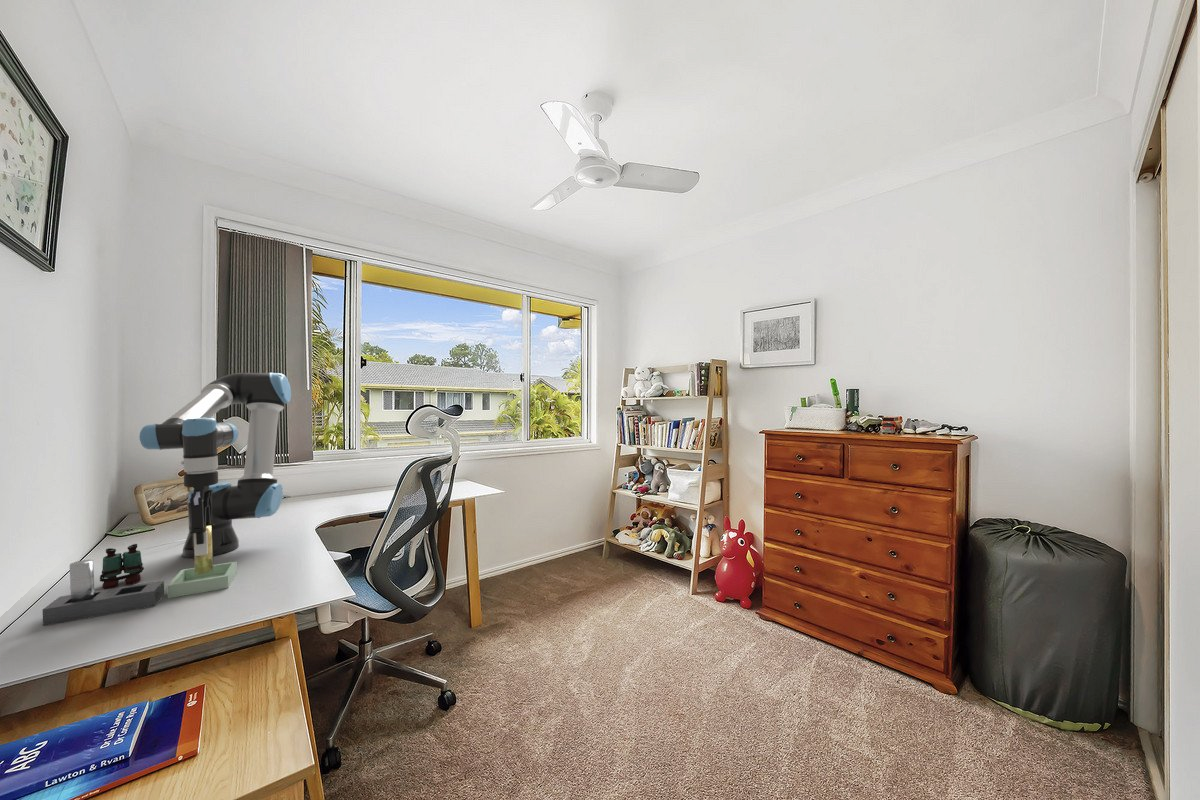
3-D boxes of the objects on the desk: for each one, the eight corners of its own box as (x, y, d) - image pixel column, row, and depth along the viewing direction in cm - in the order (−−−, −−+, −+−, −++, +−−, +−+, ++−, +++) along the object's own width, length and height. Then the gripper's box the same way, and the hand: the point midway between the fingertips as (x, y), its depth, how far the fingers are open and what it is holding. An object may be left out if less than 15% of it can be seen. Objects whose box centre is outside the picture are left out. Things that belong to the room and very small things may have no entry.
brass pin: (196, 570, 136) (195, 526, 136) (214, 568, 138) (213, 524, 138) (193, 575, 132) (191, 529, 132) (211, 572, 134) (209, 527, 134)
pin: (76, 612, 119) (74, 561, 119) (98, 608, 121) (96, 558, 121) (68, 618, 116) (66, 566, 115) (90, 614, 118) (89, 563, 117)
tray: (181, 581, 138) (181, 569, 138) (236, 572, 144) (236, 561, 144) (167, 598, 127) (167, 585, 127) (228, 587, 133) (228, 575, 133)
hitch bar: (60, 612, 119) (59, 596, 119) (164, 594, 129) (164, 580, 129) (43, 625, 112) (42, 609, 112) (154, 606, 122) (154, 590, 122)
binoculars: (98, 559, 129) (100, 547, 136) (99, 596, 130) (101, 582, 137) (143, 551, 135) (143, 540, 143) (144, 586, 136) (144, 573, 144)
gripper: (192, 468, 140) (194, 546, 141) (174, 477, 125) (177, 564, 126) (223, 466, 144) (225, 542, 144) (210, 474, 129) (213, 559, 130)
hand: (203, 552), depth 135 cm, fingers closed on brass pin, 4 cm apart
